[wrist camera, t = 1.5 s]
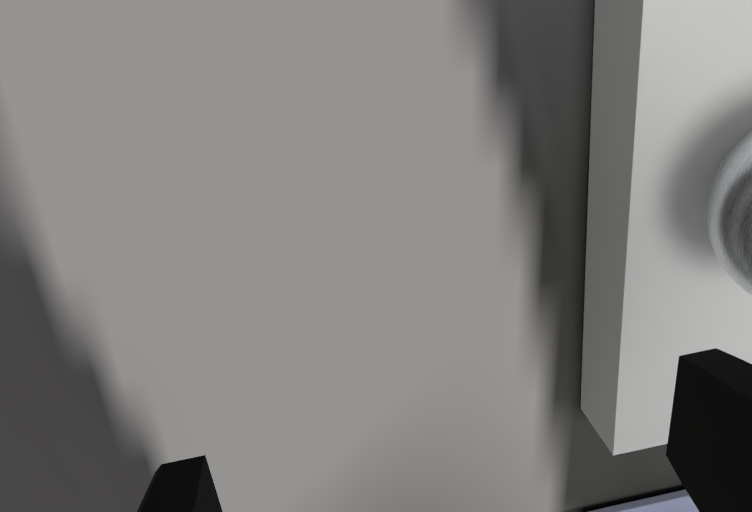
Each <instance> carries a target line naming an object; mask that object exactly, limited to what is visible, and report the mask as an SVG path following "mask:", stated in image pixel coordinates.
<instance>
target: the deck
mask: <svg viewBox="0 0 752 512" xmlns="http://www.w3.org/2000/svg"><path fill="white" fill-rule="evenodd" d="M751 131H752V0H595V14H594V42H593V70H592V98H591V126H590V155H589V183H588V211H587V239H586V267H585V296H584V324H583V352H582V380H581V410H582V411H583V413H584V414H585V415H586V417H587V418H588V420H589V421H590V423H591V424H592V426H593V427H594V429H595V430H596V431H597V433H598V434H599V436H600V437H601V439H602V440H603V442H604V443H605V444H606V446H607V447H608V449H609V450H610V452H611V453H612V455H618V454H622V453H627V452H632V451H636V450H641V449H645V448H650V447H655V446H659V445H664V444H668V436H669V429H670V421H671V413H672V406H673V398H674V391H675V383H676V375H677V368H678V360H679V356H681V355H686V354H691V353H695V352H700V351H705V350H710V349H714V348H717V349H719V350H721V351H724V352H726V353H728V354H731V355H733V356H735V357H737V358H740V359H742V360H744V361H746V362H748V363H750V364H752V295H750V294H749V293H747V292H746V291H745V290H743V289H742V288H741V287H740V286H739V285H738V284H737V283H736V282H735V281H734V280H733V279H732V278H731V277H730V276H729V275H728V273H727V272H726V271H725V270H724V268H723V267H722V265H721V264H720V262H719V261H718V259H717V257H716V255H715V253H714V250H713V248H712V246H711V243H710V239H709V235H708V230H707V224H706V207H707V199H708V193H709V190H710V187H711V183H712V181H713V179H714V176H715V174H716V172H717V170H718V169H719V167H720V165H721V163H722V162H723V160H724V159H725V158H726V156H727V155H728V153H729V152H730V151H731V150H732V149H733V148H734V146H735V145H736V144H737V143H738V142H739V141H741V140H742V139H743V138H744V137H745V136H746V135H747V134H749V133H750V132H751Z"/></svg>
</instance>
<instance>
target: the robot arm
mask: <svg viewBox="0 0 752 512" xmlns="http://www.w3.org/2000/svg"><path fill="white" fill-rule="evenodd" d="M666 456H667V458H668V459H669V461H670V463H671V465H672V466H673V468H674V470H675V472H676V473H677V475H678V477H679V479H680V481H681V482H682V484H683V486H684V488H685V490H681V491H676V492H672V493H667V494H663V495H658V496H654V497H650V498H645V499H641V500H636V501H632V502H628V503H623V504H619V505H614V506H610V507H606V508H601V509H597V510H592V511H588V512H752V364H750V363H748V362H746V361H744V360H742V359H740V358H737V357H735V356H733V355H731V354H728V353H726V352H724V351H721V350H719V349H717V348H714V349H710V350H705V351H700V352H695V353H691V354H686V355H681V356H679V360H678V368H677V375H676V383H675V391H674V398H673V406H672V413H671V421H670V429H669V436H668V444H667V451H666ZM137 512H222V509H221V506H220V502H219V499H218V496H217V493H216V489H215V486H214V483H213V479H212V476H211V473H210V470H209V467H208V464H207V460H206V457H205V455H204V456H200V457H195V458H190V459H185V460H180V461H176V462H171V463H166V464H162V465H161V466H160V467H159V468H158V470H157V471H156V472H155V474H154V476H153V479H152V481H151V483H150V485H149V487H148V490H147V492H146V494H145V496H144V498H143V500H142V502H141V504H140V507H139V509H138V511H137Z"/></svg>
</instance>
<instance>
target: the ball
mask: <svg viewBox="0 0 752 512" xmlns="http://www.w3.org/2000/svg"><path fill="white" fill-rule="evenodd" d="M706 224H707V230H708V235H709V239H710V243H711V246H712V248H713V250H714V253H715V255H716V257H717V259H718V261H719V262H720V264H721V265H722V267H723V268H724V270H725V271H726V272H727V273H728V275H729V276H730V277H731V278H732V279H733V280H734V281H735V282H736V283H737V284H738V285H739V286H740V287H741V288H742V289H743V290H745V291H746V292H747V293H749V294H750V295H752V131H751V132H750V133H749V134H747V135H746V136H745V137H744V138H743V139H742V140H741V141H739V142H738V143H737V144H736V145H735V146H734V148H733V149H732V150H731V151H730V152H729V153H728V155H727V156H726V158H725V159H724V160H723V162H722V163H721V165H720V167H719V169H718V170H717V172H716V174H715V176H714V179H713V181H712V183H711V187H710V190H709V193H708V199H707V207H706Z"/></svg>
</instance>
